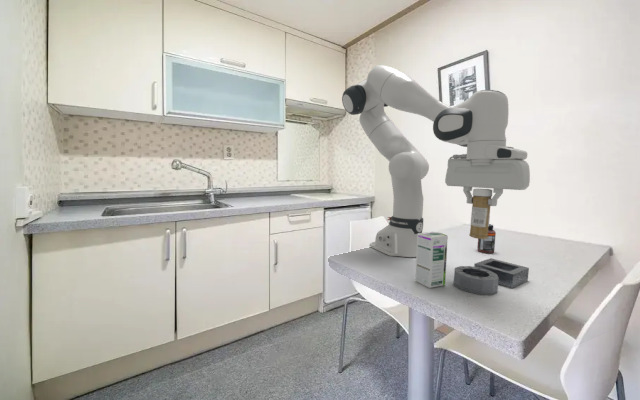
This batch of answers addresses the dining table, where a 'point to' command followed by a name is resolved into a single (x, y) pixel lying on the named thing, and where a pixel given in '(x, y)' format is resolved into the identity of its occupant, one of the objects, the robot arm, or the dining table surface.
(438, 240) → the syrup box
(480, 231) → the sprinkles bottle
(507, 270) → the square socket
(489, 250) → the supplement bottle
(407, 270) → the dining table surface
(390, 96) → the robot arm
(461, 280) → the round socket
